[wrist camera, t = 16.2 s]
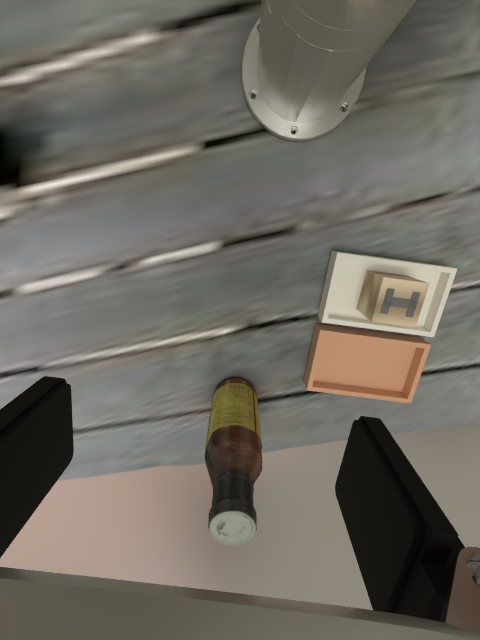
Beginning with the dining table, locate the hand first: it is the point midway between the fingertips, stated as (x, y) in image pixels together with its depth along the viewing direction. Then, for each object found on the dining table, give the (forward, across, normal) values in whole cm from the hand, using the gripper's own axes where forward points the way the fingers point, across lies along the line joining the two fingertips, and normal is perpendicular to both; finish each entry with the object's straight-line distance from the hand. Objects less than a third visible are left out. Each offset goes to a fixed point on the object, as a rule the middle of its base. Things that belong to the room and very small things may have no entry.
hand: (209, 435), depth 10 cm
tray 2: (+30, -18, +9) cm, 36 cm away
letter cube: (+30, -18, -1) cm, 35 cm away
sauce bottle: (+31, -2, +17) cm, 35 cm away
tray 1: (+30, -18, 0) cm, 35 cm away
